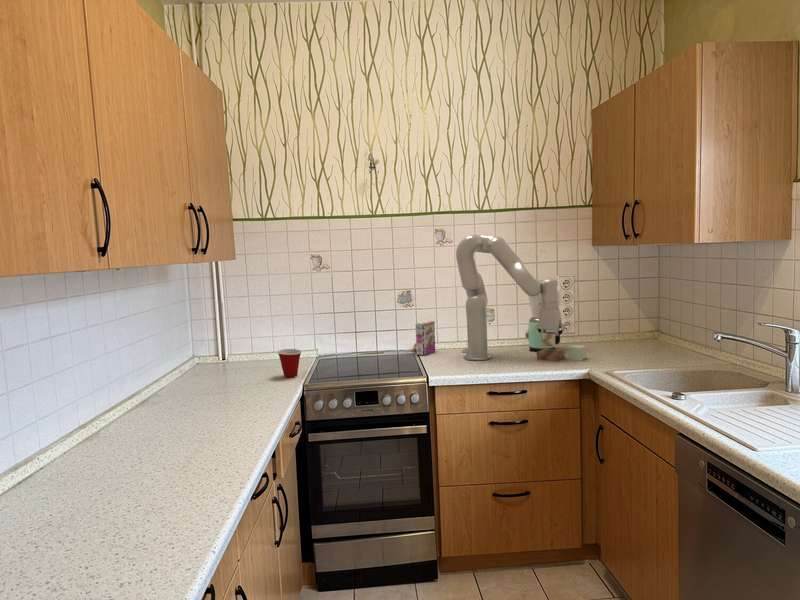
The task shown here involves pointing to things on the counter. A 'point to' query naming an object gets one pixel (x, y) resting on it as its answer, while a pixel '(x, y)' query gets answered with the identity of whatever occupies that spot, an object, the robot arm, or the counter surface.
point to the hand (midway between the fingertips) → (550, 342)
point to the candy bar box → (425, 338)
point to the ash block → (549, 339)
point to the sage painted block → (577, 352)
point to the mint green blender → (532, 332)
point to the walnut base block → (550, 355)
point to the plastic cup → (289, 361)
